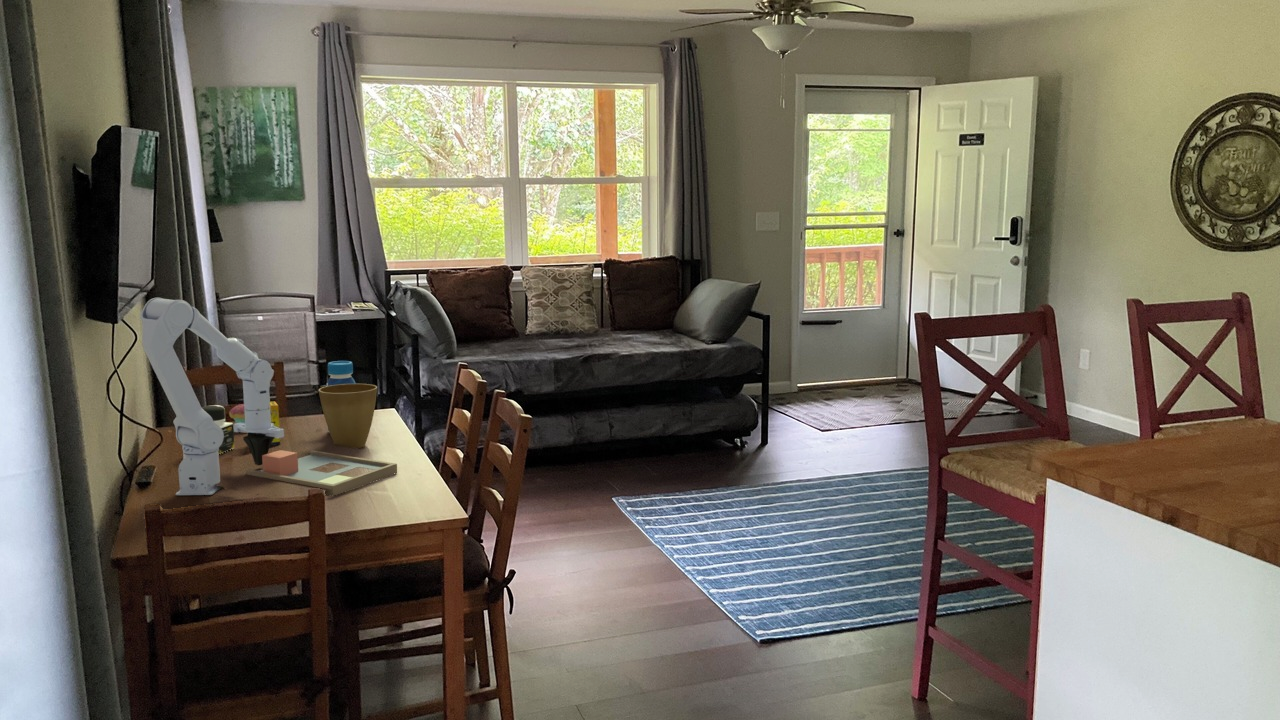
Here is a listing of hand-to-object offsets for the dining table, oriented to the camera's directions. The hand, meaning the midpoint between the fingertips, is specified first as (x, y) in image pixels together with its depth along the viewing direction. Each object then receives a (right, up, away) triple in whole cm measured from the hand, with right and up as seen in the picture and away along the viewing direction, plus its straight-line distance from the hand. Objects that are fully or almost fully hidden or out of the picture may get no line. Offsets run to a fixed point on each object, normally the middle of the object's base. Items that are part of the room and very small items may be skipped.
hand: (260, 464), depth 229 cm
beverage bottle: (+6, +4, +44) cm, 44 cm away
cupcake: (-23, +5, +48) cm, 53 cm away
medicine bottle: (-20, +1, +21) cm, 30 cm away
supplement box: (-10, +2, +30) cm, 32 cm away
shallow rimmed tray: (+15, -3, -1) cm, 15 cm away
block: (+6, -2, -4) cm, 7 cm away
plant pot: (+13, +2, +27) cm, 30 cm away
